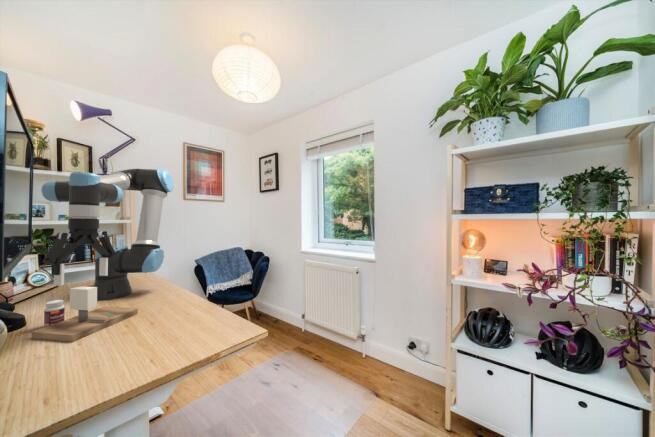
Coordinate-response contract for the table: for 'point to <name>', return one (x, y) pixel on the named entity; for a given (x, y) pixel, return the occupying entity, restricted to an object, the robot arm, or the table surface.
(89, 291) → the white boxy piece
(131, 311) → the board
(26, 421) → the table surface
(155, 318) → the table surface
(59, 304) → the pill bottle
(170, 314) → the table surface
